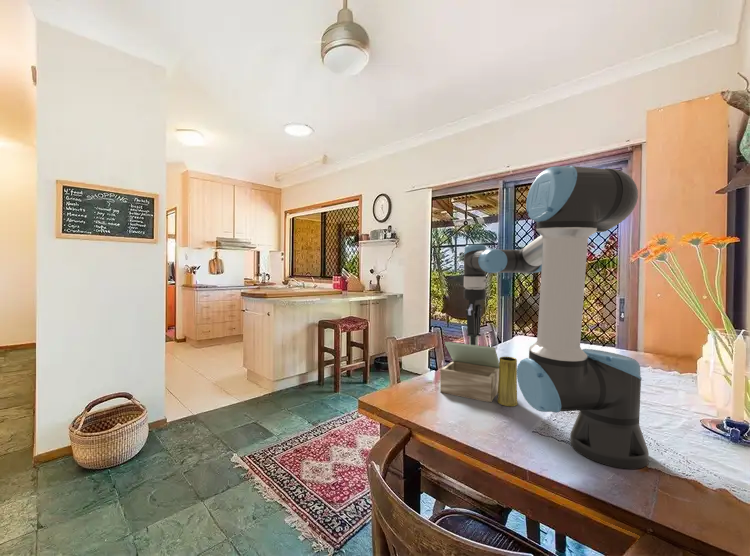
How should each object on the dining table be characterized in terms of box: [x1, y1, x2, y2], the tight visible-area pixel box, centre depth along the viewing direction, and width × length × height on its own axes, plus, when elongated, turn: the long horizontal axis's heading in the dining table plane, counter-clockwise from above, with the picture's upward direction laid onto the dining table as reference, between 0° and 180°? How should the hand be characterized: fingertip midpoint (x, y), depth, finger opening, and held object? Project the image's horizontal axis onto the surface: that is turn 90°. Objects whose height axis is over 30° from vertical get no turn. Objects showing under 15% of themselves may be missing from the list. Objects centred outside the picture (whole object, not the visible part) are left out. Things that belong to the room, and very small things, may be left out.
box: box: [439, 360, 499, 403], centre depth 119 cm, size 13×17×8 cm
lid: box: [444, 341, 499, 368], centre depth 120 cm, size 12×17×1 cm
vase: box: [496, 356, 518, 407], centre depth 109 cm, size 6×6×14 cm
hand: (473, 354), depth 122 cm, fingers closed
